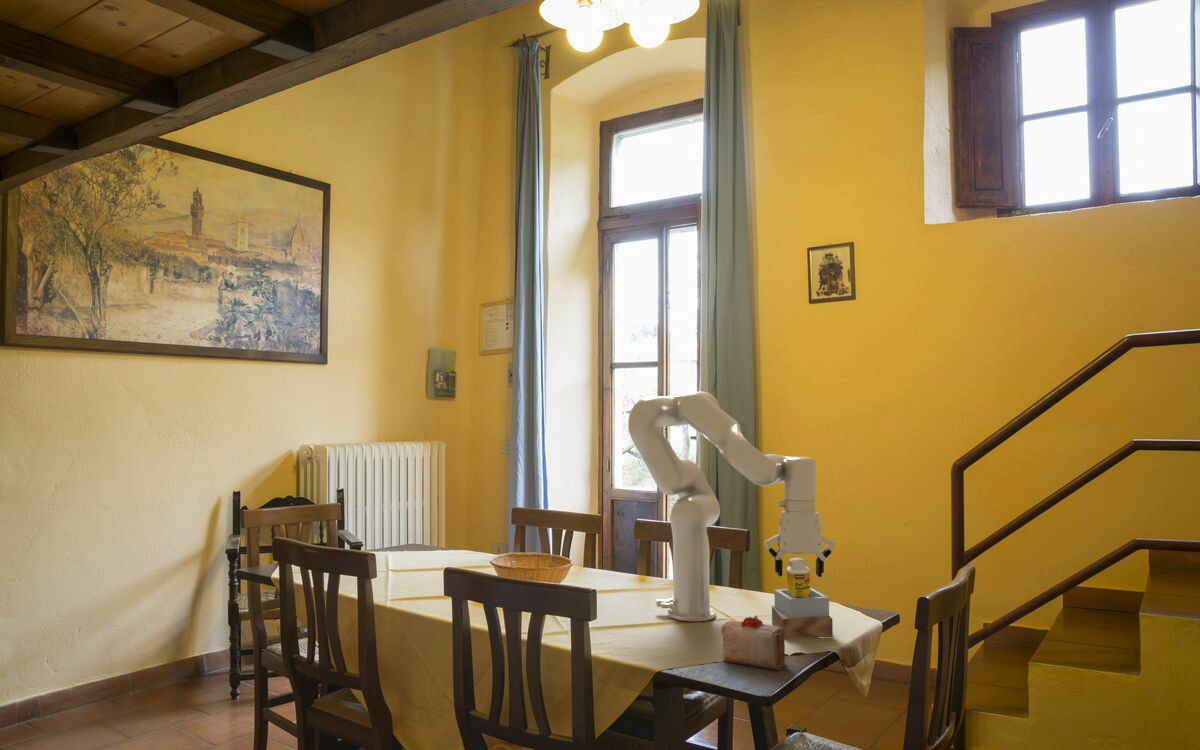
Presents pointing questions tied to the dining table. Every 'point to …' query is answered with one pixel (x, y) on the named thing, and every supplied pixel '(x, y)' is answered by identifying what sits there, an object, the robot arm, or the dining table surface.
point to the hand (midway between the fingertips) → (799, 575)
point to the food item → (753, 643)
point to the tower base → (803, 625)
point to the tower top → (802, 604)
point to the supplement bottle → (798, 579)
